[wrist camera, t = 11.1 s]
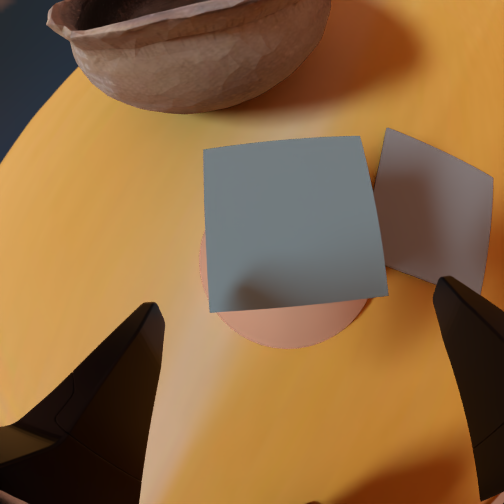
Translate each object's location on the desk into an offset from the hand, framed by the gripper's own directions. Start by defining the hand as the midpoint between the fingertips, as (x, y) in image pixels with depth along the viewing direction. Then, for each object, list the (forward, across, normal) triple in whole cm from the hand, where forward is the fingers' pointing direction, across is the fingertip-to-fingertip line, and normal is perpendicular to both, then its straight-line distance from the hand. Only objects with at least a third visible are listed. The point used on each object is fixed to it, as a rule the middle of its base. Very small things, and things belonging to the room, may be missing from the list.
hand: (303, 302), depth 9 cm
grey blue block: (+11, 0, +6) cm, 13 cm away
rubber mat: (+14, -13, +5) cm, 20 cm away
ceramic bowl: (+27, +5, -7) cm, 28 cm away
